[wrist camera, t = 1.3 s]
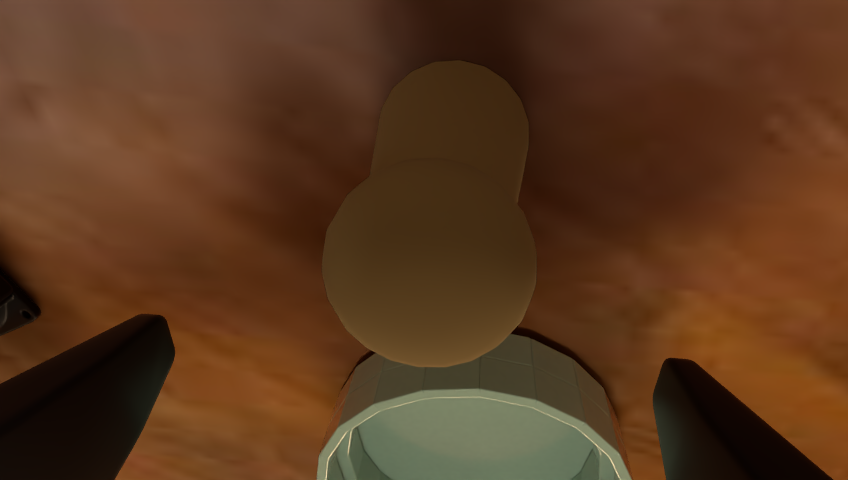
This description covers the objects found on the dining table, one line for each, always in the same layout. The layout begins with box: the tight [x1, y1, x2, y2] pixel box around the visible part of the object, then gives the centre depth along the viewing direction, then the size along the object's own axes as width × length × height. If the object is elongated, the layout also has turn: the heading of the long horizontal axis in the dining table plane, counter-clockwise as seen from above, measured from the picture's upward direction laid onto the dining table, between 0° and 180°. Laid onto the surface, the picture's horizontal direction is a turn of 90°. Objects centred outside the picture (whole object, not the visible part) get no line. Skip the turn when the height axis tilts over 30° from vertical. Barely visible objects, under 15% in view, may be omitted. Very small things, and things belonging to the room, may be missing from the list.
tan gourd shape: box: [322, 60, 537, 367], centre depth 16 cm, size 6×6×11 cm
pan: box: [316, 334, 633, 480], centre depth 27 cm, size 15×15×4 cm
